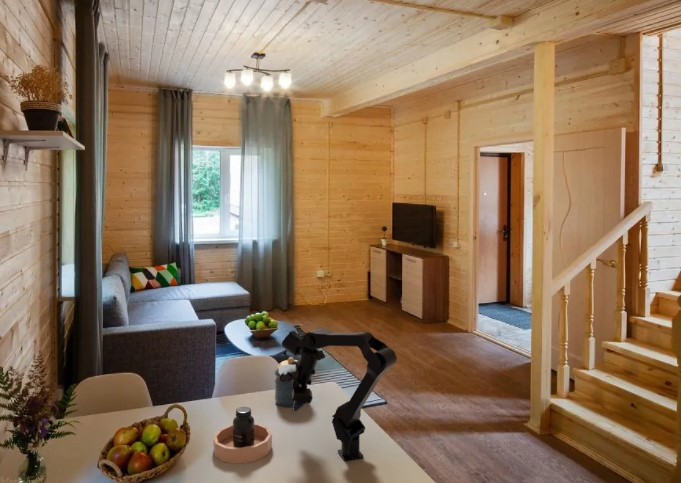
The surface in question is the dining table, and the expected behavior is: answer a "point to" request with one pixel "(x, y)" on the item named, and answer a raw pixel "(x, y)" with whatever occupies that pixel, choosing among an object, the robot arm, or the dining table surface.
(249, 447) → the terracotta bowl
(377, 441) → the dining table surface
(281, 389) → the canister
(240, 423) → the supplement bottle
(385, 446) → the dining table surface
